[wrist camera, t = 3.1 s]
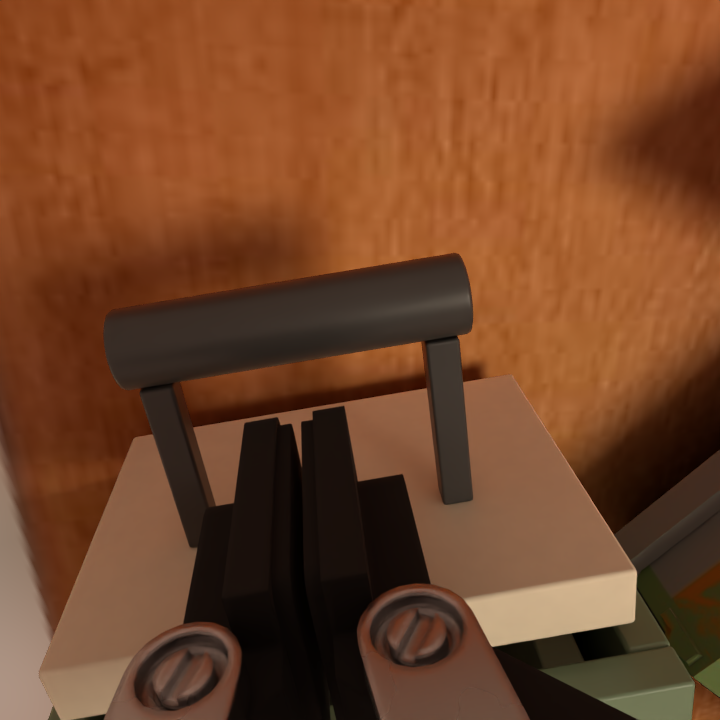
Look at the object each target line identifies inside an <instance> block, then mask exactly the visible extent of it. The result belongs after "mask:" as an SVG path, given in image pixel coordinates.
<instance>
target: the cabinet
mask: <svg viewBox="0 0 720 720" xmlns="http://www.w3.org/2000/svg"><path fill="white" fill-rule="evenodd" d="M572 635H573V637H574V639H575V642H576V644H577V646H578V648H579V650H580V652H581V655H582V657H583V659H584V661H583V662H577V663H571V664H566V665H560V666H554V667H548V668H543V669H538V670H540V671H542V672H544V673H546V674H548V675H550V676H552V677H554V678H556V679H558V680H560V681H562V682H564V683H566V684H568V685H570V686H572V687H574V688H576V689H578V690H580V691H582V692H584V693H586V694H588V695H590V696H592V697H594V698H596V699H598V700H600V701H602V702H604V703H606V704H608V705H610V706H612V707H614V708H616V709H618V710H620V711H622V712H624V713H626V714H628V715H630V716H632V717H634V718H636V719H638V720H692V710H693V700H694V690H695V683H694V681H693V679H692V677H691V676H690V674H689V673H688V671H687V669H686V668H685V666H684V664H683V663H682V661H681V660H680V658H679V656H678V655H677V653H676V651H675V650H674V648H672V647H670V643H669V641H668V640H667V638H666V636H665V635H664V633H663V631H662V630H661V628H660V627H659V625H658V623H657V622H656V620H655V618H654V617H653V615H652V614H651V612H650V610H649V609H648V607H647V605H646V604H645V602H644V600H643V599H642V597H641V596H640V594H639V592H638V591H637V589H636V607H635V620H634V622H632V623H628V624H622V625H616V626H611V627H605V628H599V629H593V630H588V631H582V632H576V633H572ZM105 715H106V714H103V715H97V716H91V717H85V718H80V719H74V720H104V717H105ZM330 718H331V720H336V717H335V713H334V709H333V705H330ZM48 720H61V719H60V718H59V716H58V714H57V712H56V710H55V708H54V706H53V708H52V711H51V713H50V716H49V719H48Z"/></svg>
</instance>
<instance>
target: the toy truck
mask: <svg viewBox="0 0 720 720" xmlns="http://www.w3.org/2000/svg"><path fill="white" fill-rule="evenodd" d="M614 536H615V537H616V539H617V541H618V542H619V544H620V545H621V547H622V548H623V550H624V552H625V553H626V555H627V556H628V558H629V559H630V561H631V563H632V564H633V566H634V567H635V569H636V571H637V584H636V589H637V591H638V592H639V594H640V596H641V597H642V599H643V600H644V602H645V604H646V605H647V607H648V609H649V610H650V612H651V614H652V615H653V617H654V618H655V620H656V622H657V623H658V625H659V627H660V628H661V630H662V631H663V633H664V635H665V636H666V638H667V640H668V641H669V643H670V647H672V648H674V650H675V651H676V653H677V655H678V656H679V658H680V660H681V661H682V663H683V664H684V666H685V668H686V669H687V671H688V673H689V674H690V675H691V676H692V677H694V678H695V679H696V680H698V681H699V682H700V683H701V684H702V685H703V686H705V687H706V688H707V689H709V690H710V691H711V692H713V693H714V694H715V695H717V696H718V697H719V698H720V450H719V451H717V452H716V453H715V454H714V455H712V456H711V457H710V458H709V459H707V460H706V461H705V462H704V463H702V464H701V465H700V466H699V467H697V468H696V469H695V470H694V471H692V472H691V473H690V474H689V475H687V476H686V477H685V478H684V479H683V480H681V481H680V482H679V483H678V484H676V485H675V486H674V487H673V488H671V489H670V490H669V491H668V492H666V493H665V494H664V495H663V496H661V497H660V498H659V499H658V500H656V501H655V502H654V503H653V504H651V505H650V506H649V507H648V508H646V509H645V510H644V511H643V512H642V513H640V514H639V515H638V516H637V517H635V518H634V519H633V520H632V521H630V522H629V523H628V524H627V525H625V526H624V527H623V528H622V529H620V530H619V531H618V532H617V533H615V534H614Z"/></svg>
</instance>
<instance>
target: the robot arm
mask: <svg viewBox="0 0 720 720" xmlns="http://www.w3.org/2000/svg"><path fill="white" fill-rule="evenodd" d="M312 416H313V420H308V421H302V422H301V448H302V466H301V462H300V457H299V452H298V448H297V443H296V439H295V434H294V430H293V426H292V424H291V423H290V424H284V425H280V422H279V419H278V417H275V418H269V419H263V420H257V421H251V422H246V423H245V424H244V429H243V436H242V444H241V452H240V460H239V467H238V475H237V483H236V490H235V498H234V503H231V504H225V505H219V506H213V507H208V508H207V509H206V510H205V513H204V516H203V521H202V527H201V532H200V537H199V542H198V548H197V553H196V558H195V563H194V569H193V574H192V579H191V584H190V590H189V595H188V600H187V605H186V611H185V616H184V621H183V624H182V625H179V626H176V627H174V628H171V629H169V630H167V631H164V632H162V633H161V634H159V635H158V636H156V637H155V638H153V639H152V640H150V641H149V642H147V643H146V644H145V645H144V646H143V647H142V648H141V649H140V650H139V651H138V652H137V653H136V654H135V656H134V657H133V658H132V660H131V662H130V663H129V665H128V667H127V668H126V670H125V671H124V674H123V676H122V678H121V681H120V683H119V685H118V688H117V690H116V692H115V694H114V697H113V699H112V701H111V704H110V706H109V708H108V711H107V713H106V715H105V717H104V720H331V718H330V699H329V692H330V696H331V700H332V704H333V709H334V713H335V717H336V720H638V719H636V718H634V717H632V716H630V715H628V714H626V713H624V712H622V711H620V710H618V709H616V708H614V707H612V706H610V705H608V704H606V703H604V702H602V701H600V700H598V699H596V698H594V697H592V696H590V695H588V694H586V693H584V692H582V691H580V690H578V689H576V688H574V687H572V686H570V685H568V684H566V683H564V682H562V681H560V680H558V679H556V678H554V677H552V676H550V675H548V674H546V673H544V672H542V671H540V670H538V669H536V668H534V667H532V666H530V665H528V664H526V663H524V662H522V661H520V660H518V659H516V658H514V657H512V656H510V655H508V654H506V653H504V652H502V651H500V650H498V649H496V648H494V647H492V646H491V645H490V643H489V641H488V639H487V637H486V635H485V633H484V632H483V630H482V628H481V626H480V624H479V622H478V620H477V618H476V616H475V615H474V613H473V611H472V609H471V608H470V607H469V606H468V604H467V603H466V602H465V600H464V599H463V598H462V597H460V596H459V595H457V594H456V593H454V592H452V591H451V590H449V589H446V588H443V587H440V586H437V585H434V584H431V582H430V578H429V574H428V570H427V566H426V562H425V559H424V555H423V551H422V547H421V543H420V539H419V535H418V531H417V527H416V523H415V519H414V515H413V511H412V507H411V503H410V499H409V495H408V491H407V487H406V483H405V479H404V476H403V474H399V475H393V476H387V477H381V478H376V479H370V480H364V481H358V479H357V473H356V467H355V462H354V456H353V451H352V445H351V439H350V434H349V428H348V422H347V417H346V411H345V406H339V407H333V408H327V409H322V410H316V411H312Z"/></svg>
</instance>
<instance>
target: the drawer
mask: <svg viewBox="0 0 720 720" xmlns="http://www.w3.org/2000/svg"><path fill="white" fill-rule="evenodd" d="M472 324H473V304H472V295H471V289H470V283H469V278H468V274H467V271H466V267H465V265H464V262H463V260H462V258H461V257H460V255H459V254H456V253H451V254H445V255H439V256H433V257H427V258H421V259H415V260H409V261H403V262H397V263H391V264H385V265H379V266H373V267H367V268H361V269H355V270H349V271H342V272H336V273H330V274H324V275H318V276H312V277H306V278H300V279H294V280H288V281H282V282H276V283H270V284H264V285H258V286H252V287H246V288H240V289H234V290H228V291H222V292H216V293H209V294H203V295H197V296H191V297H185V298H179V299H173V300H167V301H161V302H155V303H149V304H143V305H137V306H131V307H125V308H119V309H113V310H111V311H110V312H108V314H107V315H106V318H105V322H104V347H105V353H106V358H107V361H108V365H109V368H110V370H111V373H112V375H113V377H114V379H115V381H116V382H117V384H118V385H119V386H120V387H121V388H122V389H125V390H134V389H140V388H141V391H140V397H141V400H142V403H143V406H144V409H145V412H146V415H147V418H148V421H149V424H150V427H151V430H152V433H153V434H151V435H145V436H139V437H135V438H134V439H133V441H132V444H131V446H130V449H129V451H128V453H127V456H126V458H125V461H124V463H123V466H122V468H121V471H120V473H119V476H118V478H117V481H116V483H115V485H114V488H113V490H112V493H111V495H110V498H109V500H108V503H107V505H106V508H105V510H104V513H103V515H102V518H101V520H100V522H99V525H98V527H97V530H96V532H95V535H94V537H93V540H92V542H91V545H90V547H89V550H88V552H87V554H86V557H85V559H84V562H83V564H82V567H81V569H80V572H79V574H78V577H77V579H76V582H75V584H74V587H73V589H72V591H71V594H70V596H69V599H68V601H67V604H66V606H65V609H64V611H63V614H62V616H61V619H60V621H59V624H58V626H57V628H56V631H55V633H54V636H53V638H52V641H51V643H50V646H49V648H48V651H47V653H46V656H45V658H44V661H43V663H42V666H41V668H40V671H39V678H40V680H41V682H42V684H43V686H44V688H45V690H46V692H47V694H48V696H49V698H50V700H51V702H52V704H53V706H54V708H55V710H56V712H57V714H58V716H59V718H60V719H61V720H74V719H80V718H85V717H91V716H97V715H103V714H106V713H107V711H108V708H109V706H110V704H111V701H112V699H113V697H114V694H115V692H116V690H117V688H118V685H119V683H120V681H121V678H122V676H123V674H124V671H125V670H126V668H127V667H128V665H129V663H130V662H131V660H132V658H133V657H134V656H135V654H136V653H137V652H138V651H139V650H140V649H141V648H142V647H143V646H144V645H145V644H146V643H147V642H149V641H150V640H152V639H153V638H155V637H156V636H158V635H159V634H161V633H162V632H164V631H167V630H169V629H171V628H174V627H176V626H179V625H182V624H183V621H184V616H185V611H186V605H187V600H188V595H189V590H190V584H191V579H192V574H193V569H194V563H195V558H196V553H197V548H198V542H199V537H200V532H201V527H202V521H203V516H204V513H205V510H206V509H207V508H208V507H213V506H219V505H225V504H231V503H234V498H235V490H236V483H237V475H238V467H239V460H240V452H241V444H242V436H243V429H244V424H245V423H246V422H251V421H257V420H263V419H269V418H275V417H278V419H279V422H280V425H284V424H290V423H291V424H292V426H293V430H294V434H295V439H296V443H297V448H298V452H299V457H300V462H301V466H302V448H301V422H302V421H308V420H313V416H312V411H316V410H322V409H327V408H333V407H339V406H345V411H346V417H347V422H348V428H349V434H350V439H351V445H352V451H353V456H354V462H355V467H356V473H357V479H358V481H364V480H370V479H376V478H381V477H387V476H393V475H399V474H403V476H404V479H405V483H406V487H407V491H408V495H409V499H410V503H411V507H412V511H413V515H414V519H415V523H416V527H417V531H418V535H419V539H420V543H421V547H422V551H423V555H424V559H425V562H426V566H427V570H428V574H429V578H430V582H431V584H434V585H437V586H440V587H443V588H446V589H449V590H451V591H452V592H454V593H456V594H457V595H459V596H460V597H462V598H463V599H464V600H465V602H466V603H467V604H468V606H469V607H470V608H471V609H472V611H473V613H474V615H475V616H476V618H477V620H478V622H479V624H480V626H481V628H482V630H483V632H484V633H485V635H486V637H487V639H488V641H489V643H490V645H491V646H492V647H494V648H496V649H498V650H500V651H502V652H504V653H506V654H508V655H510V656H512V657H514V658H516V659H518V660H520V661H522V662H524V663H526V664H528V665H530V666H532V667H534V668H536V669H543V668H548V667H554V666H560V665H566V664H571V663H577V662H583V661H584V659H583V657H582V655H581V652H580V650H579V648H578V646H577V644H576V642H575V639H574V637H573V635H572V633H576V632H582V631H588V630H593V629H599V628H605V627H611V626H616V625H622V624H628V623H632V622H634V620H635V607H636V584H637V571H636V569H635V567H634V566H633V564H632V563H631V561H630V559H629V558H628V556H627V555H626V553H625V552H624V550H623V548H622V547H621V545H620V544H619V542H618V541H617V539H616V537H615V536H614V534H613V533H612V531H611V530H610V528H609V526H608V525H607V523H606V522H605V520H604V519H603V517H602V515H601V514H600V512H599V511H598V509H597V508H596V506H595V504H594V503H593V501H592V500H591V498H590V497H589V495H588V493H587V492H586V490H585V489H584V487H583V486H582V484H581V482H580V481H579V479H578V478H577V476H576V475H575V473H574V471H573V470H572V468H571V467H570V465H569V464H568V462H567V460H566V459H565V457H564V456H563V454H562V453H561V451H560V449H559V448H558V446H557V445H556V443H555V442H554V440H553V438H552V437H551V435H550V434H549V432H548V431H547V429H546V427H545V426H544V424H543V423H542V421H541V420H540V418H539V416H538V415H537V413H536V412H535V410H534V409H533V407H532V405H531V404H530V402H529V401H528V399H527V398H526V396H525V394H524V393H523V391H522V390H521V388H520V387H519V385H518V383H517V382H516V380H515V379H514V377H513V376H512V375H510V374H509V375H503V376H497V377H491V378H485V379H479V380H473V381H467V382H463V376H462V364H461V353H460V342H459V339H458V337H457V335H463V334H467V333H469V332H470V331H471V329H472ZM415 342H422V350H423V359H424V368H425V376H426V385H427V388H425V389H419V390H413V391H407V392H401V393H395V394H389V395H383V396H378V397H372V398H366V399H360V400H354V401H348V402H342V403H336V404H330V405H324V406H318V407H312V408H306V409H300V410H294V411H288V412H282V413H276V414H270V415H264V416H258V417H253V418H247V419H241V420H235V421H229V422H223V423H217V424H211V425H205V426H199V427H193V425H192V422H191V419H190V415H189V412H188V408H187V405H186V402H185V398H184V395H183V391H182V388H181V385H180V382H182V381H188V380H194V379H199V378H205V377H211V376H217V375H223V374H229V373H235V372H241V371H247V370H253V369H259V368H265V367H271V366H277V365H283V364H289V363H295V362H301V361H307V360H313V359H319V358H325V357H331V356H337V355H343V354H349V353H355V352H361V351H367V350H373V349H379V348H385V347H391V346H397V345H403V344H409V343H415ZM329 699H330V705H333V704H332V700H331V696H330V692H329Z"/></svg>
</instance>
